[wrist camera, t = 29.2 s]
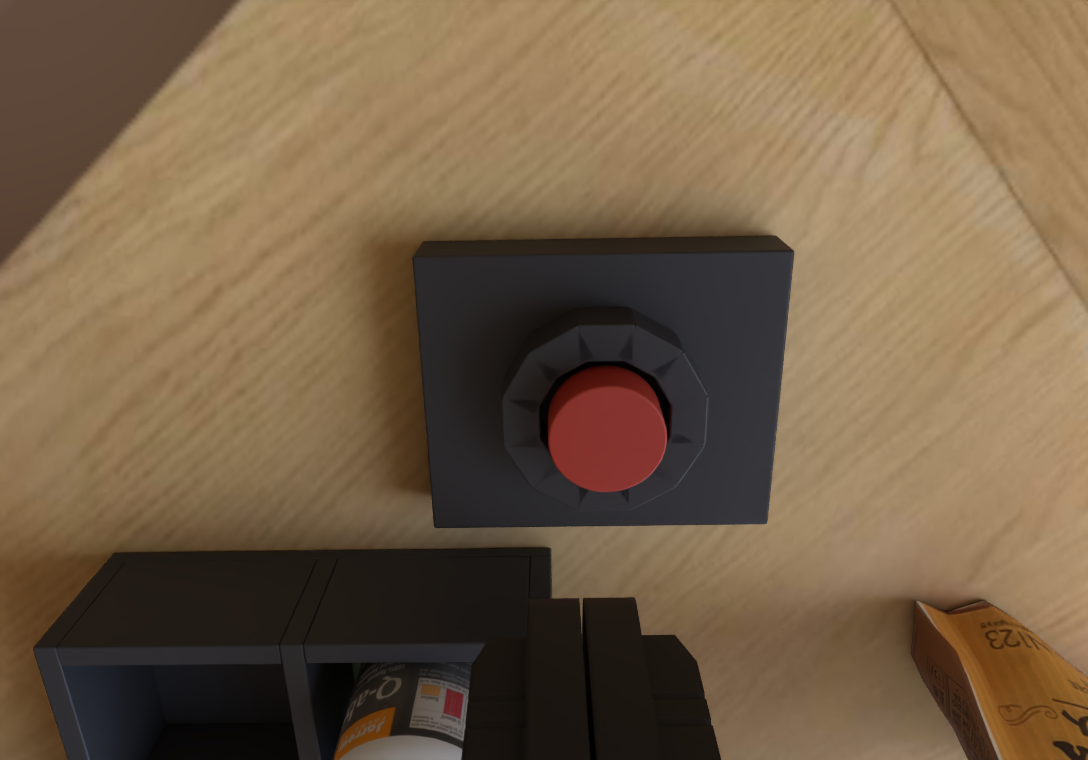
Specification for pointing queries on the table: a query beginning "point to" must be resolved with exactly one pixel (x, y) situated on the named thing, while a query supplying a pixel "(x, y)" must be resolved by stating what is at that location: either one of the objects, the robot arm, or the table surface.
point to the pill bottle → (406, 712)
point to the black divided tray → (263, 643)
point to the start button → (606, 429)
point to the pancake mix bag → (1001, 685)
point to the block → (594, 340)
